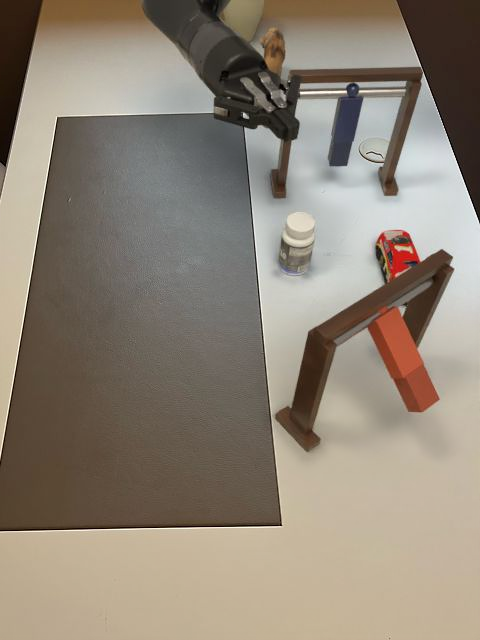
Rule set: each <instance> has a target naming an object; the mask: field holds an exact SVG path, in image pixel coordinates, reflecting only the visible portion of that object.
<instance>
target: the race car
mask: <svg viewBox="0 0 480 640" xmlns="http://www.w3.org/2000/svg"><path fill="white" fill-rule="evenodd" d="M414 244H415V243H414V242H413V239H412V237H411V235H410V233H408V232H407V231H405V230H404V229H389V230H388V229H387V230H385V231H382V232H381V233H380V235H379V236H378V237H377V240H376V243H375V256H376V259H377V260H378V264H379V266H380V269H381V274H382V277H383V280H384V282H385V284H386V283H388V282H389V281H391V280H393V279H394V278H396V277H397V276H399V275H401V274H402V273H404V272H405V271H407V270H409V269H410V268H412V267H413V266H415V265H417V264H418V263H420V262H421V260H420V257H419V254H418V251H417V249H416V246H415V245H414ZM408 302H409V301H407V302H406V303H404V304H403V305H407V304H408Z"/></svg>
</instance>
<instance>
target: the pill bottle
mask: <svg viewBox="0 0 480 640" xmlns="http://www.w3.org/2000/svg"><path fill="white" fill-rule="evenodd" d="M315 227H316V220H315V218H314V217H313V216H312V215H311V214H309V213H307V212H303V211H295V212H292V213H290V214H288V216H287V217H286V220H285V223H284V227H283V229H282V230H281V236H280V244H279V250H278V256H277V257H278V258H277V266H278V268H279V270H280V271H281V272H282V273H284V274H286V275H289V276H301V275H303V274H305V273H306V272H307V271H308V270H309V268H310V266H311V261H312V256H313V251H314V246H315V242H316V241H315V240H316V232H315Z"/></svg>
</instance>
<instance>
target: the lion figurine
mask: <svg viewBox="0 0 480 640" xmlns="http://www.w3.org/2000/svg"><path fill="white" fill-rule="evenodd" d="M259 44H260V46H261V47H262V49H263V51H264V52H263V58H264V60H265V62H266V64H267V66H268V68H269V70H270V71H272V72H275V73H277V74H278V75H279V76H280V77H281V75H282V72H283V64H284V62H285V60H286V41H285V38H284V34H283V32H282V31H281V30H280V29H279V28H277V27H269V28H268V32H266V34H265V35H263V36H261V37H260V38H259Z"/></svg>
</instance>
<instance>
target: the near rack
mask: <svg viewBox="0 0 480 640" xmlns="http://www.w3.org/2000/svg"><path fill="white" fill-rule="evenodd" d="M453 259H454V256H452V255H451V254H450V253H449V252H447V251H446V250H444V249H443V248H441V249H439V250H438V251H436V252H435V253H431V254H430V255H429V256H426V258H425V259H423V260H422V261H421V260H420V263H418V264H417V265H415V266H413V267H412V268H410V269H409V270H407V271H405V272H404V273H402V274H401V275H399V276H397V277H396V278H394V279H393V280H391V281H389V282H388V283H385V284H383V285H382V286H380V287H377V289H375V290H373V291H372V292H370V293H369V294H367V295H364V296H363V297H361V298H360V299H359V300H357V301H355V302H354V303H353V304H351V305H349V306H347V307H346V308H344V309H342V310H341V311H340V312H338V313H336V314H335V315H333V316H331V317H330V318H328V319H327V320H325V321H323V322H322V323H320V324H319V325H316V326H314V327H312V328H311V329H309V330H308V331H307V336H306V339H305V340H306V341H305V345H304V349H303V352H302V353H303V354H302V358H301V363H300V368H299V371H298V376H297V381H296V384H295V385H296V386H295V390H294V394H293V398H292V404H291V406H289V405H286V406H285V407H283V408H282V409H280V410H279V411H277V412H276V413H275V416H274V419H275V420H276V421H277V422H278V423H279V424H280V426H282V427H283V429H284V430H285V431H286V432H287V433H288V434H289V435H290V436H291V437H292V438H293V439H294V440H295V441H296V443H298V444H299V445H300V446H301V448H302V449H304V451H305V452H306V453H309V452H311V451H312V450H313V449H315V448H316V447H317V446H319V445H320V443H321V441H322V439H321V437H319V435H317V434H316V432H315V431H314V427H315V423H316V419H317V416H318V412H319V408H320V406H321V402H322V399H323V395H324V391H325V388H326V386H327V382H328V378H329V375H330V370H331V368H332V365H333V361H334V357H335V353H336V351H337V348H338V347H337V344H336V343H335V342H334V341H333V339H335V338H336V337H338V336H339V335H341V334H342V333H344V332H346V331H347V330H349V329H350V328H352V327H353V326H355V325H357V324H358V323H360V322H361V321H363V320H364V319H366V318H368V317H369V316H371V315H372V314H374V313H375V312H377V311H378V310H380V309H382V308H383V307H385V306H386V305H388V304H389V303H391V302H393V301H394V300H396V299H397V298H399V297H400V296H402V295H404V294H405V293H407V292H408V291H410V290H411V289H413V288H415V287H416V286H418V285H419V284H421V283H422V282H424V281H425V280H427V279H429V278H430V277H432V279H433V281H434V283H433V285H432V286H431V287H429V288H428V289H426V290H425V291H423V292H421V293H420V294H418V295H417V296H415V297H414V298H412V299H411V300H409V302H408V304H406V307H405V309H404V312H403V314H402V317H403V320H404V322H405V324H406V326H407V328H408V330H409V332H410V334H411V337H412V339H413V341H414V343H415V345H416V347H417V349H419V347H420V344H421V343H422V340H423V338H424V336H425V334H426V332H427V329H428V327H429V325H430V323H431V321H432V319H433V317H434V315H435V313H436V310H437V308H438V307H439V304H440V302H441V300H442V298H443V295H444V293H445V291H446V289H447V286H448V284H449V282H450V280H451V279H452V276H453V273H455V268H454V267H453V266H451V263H452V261H453Z"/></svg>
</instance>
